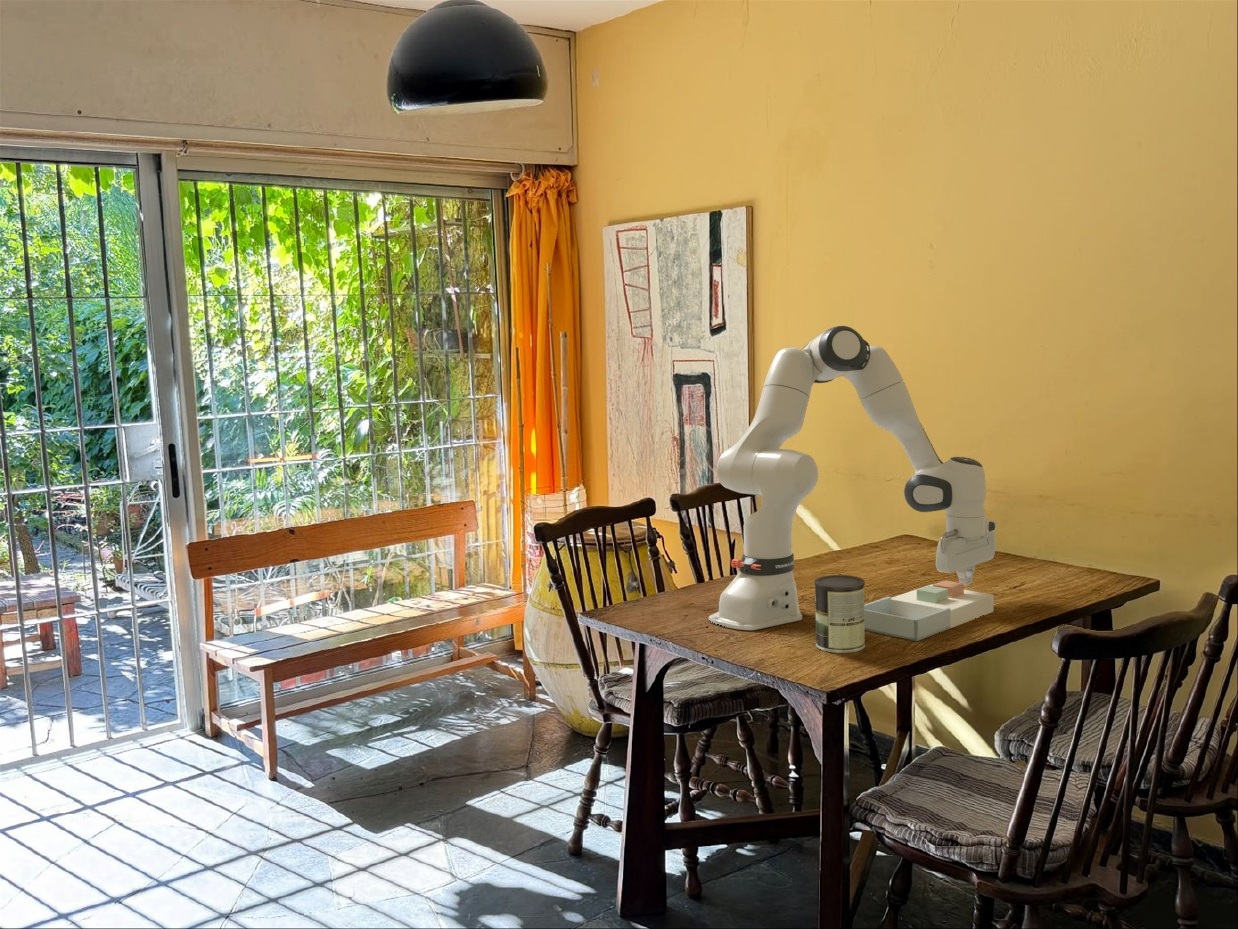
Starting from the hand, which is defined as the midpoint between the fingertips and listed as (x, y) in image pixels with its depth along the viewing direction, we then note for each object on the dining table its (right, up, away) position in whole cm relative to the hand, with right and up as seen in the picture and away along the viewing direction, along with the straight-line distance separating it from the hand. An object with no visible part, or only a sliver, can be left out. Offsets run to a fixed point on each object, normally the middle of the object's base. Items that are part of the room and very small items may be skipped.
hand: (965, 584), depth 266 cm
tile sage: (-10, -2, -9) cm, 14 cm away
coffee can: (-35, -10, -28) cm, 46 cm away
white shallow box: (-8, -6, -6) cm, 12 cm away
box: (-19, -8, -17) cm, 27 cm away
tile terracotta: (-6, -2, -5) cm, 8 cm away
